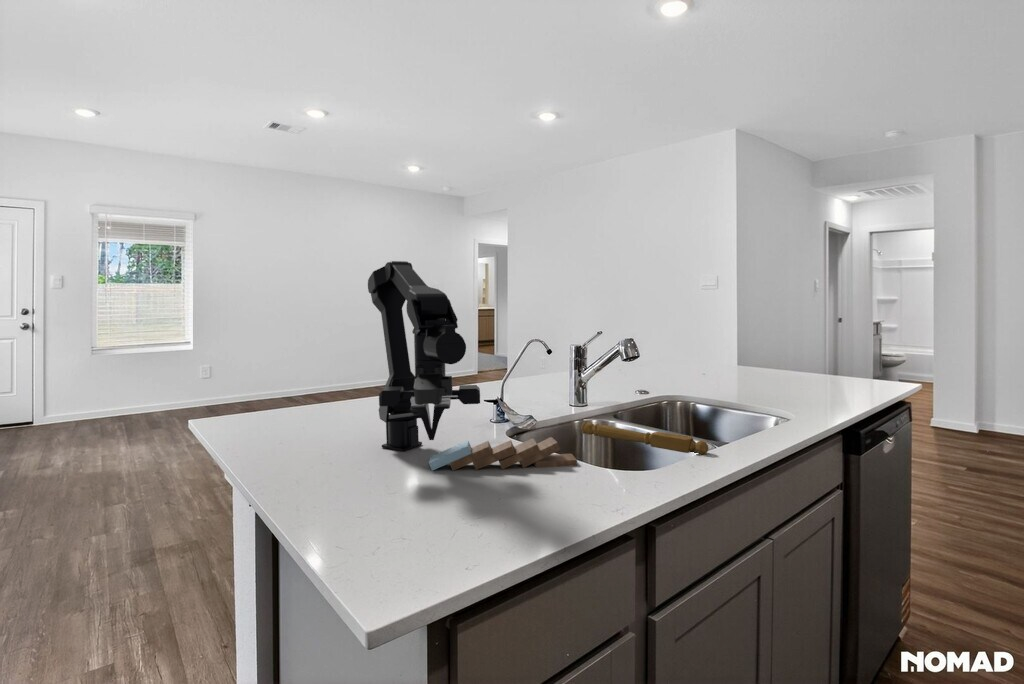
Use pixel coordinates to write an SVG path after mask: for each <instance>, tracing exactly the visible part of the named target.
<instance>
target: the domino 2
mask: <svg viewBox="0 0 1024 684" xmlns="http://www.w3.org/2000/svg"><path fill="white" fill-rule="evenodd" d="M491 448H492V446H491V444H490V441H489V440H487V441H484V442H482V443H480V444H477V445H475V446H471V454H469V455H467V456H465V457H462V458H460V459H458V460H456V461H453V462H451V463H449V465H450V467H451V470H452V471H453V472H454V471H455V470H458V469H460V468H463V467H464V466H467V465H470V464H473V462H475V461H477V460H479V459H482V458H484V457H486V456H489V455H491V454H492V449H491Z"/></svg>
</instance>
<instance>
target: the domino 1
mask: <svg viewBox="0 0 1024 684" xmlns="http://www.w3.org/2000/svg"><path fill="white" fill-rule="evenodd" d="M471 448H472V446H471V443H470V441H469V440H465V441H464V442H460V443H458V444H457V445H454V446H451V447H449V448H447V449H444V450H442V451H440V452H437V453H436V454H433V455H431V456H430V457H429V462H428V464H429V466H430V469H431V471H435V470H437V469H439V468H441V467H444V466H446V465H450V463H451V462H453V461H456V460H458V459H460V458H462V457H465V456H467V455H469V454H471Z"/></svg>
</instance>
